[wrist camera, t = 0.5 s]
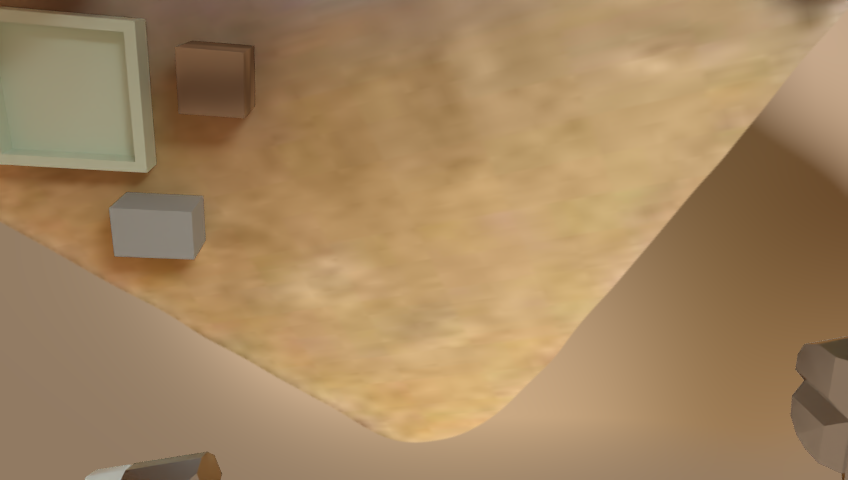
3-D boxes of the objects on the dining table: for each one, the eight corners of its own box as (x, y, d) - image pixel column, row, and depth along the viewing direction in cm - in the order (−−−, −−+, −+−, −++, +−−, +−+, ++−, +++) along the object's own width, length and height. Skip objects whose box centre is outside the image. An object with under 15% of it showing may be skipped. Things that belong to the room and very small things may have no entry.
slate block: (127, 191, 50) (108, 208, 46) (203, 195, 50) (191, 212, 47) (131, 236, 51) (114, 256, 47) (205, 240, 52) (194, 259, 48)
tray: (-18, 4, 43) (-38, 5, 41) (145, 18, 45) (134, 20, 42) (8, 155, 47) (-9, 163, 45) (156, 164, 49) (147, 172, 47)
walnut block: (192, 40, 46) (174, 47, 41) (254, 45, 46) (243, 52, 42) (195, 101, 47) (178, 113, 43) (255, 105, 48) (244, 118, 43)
